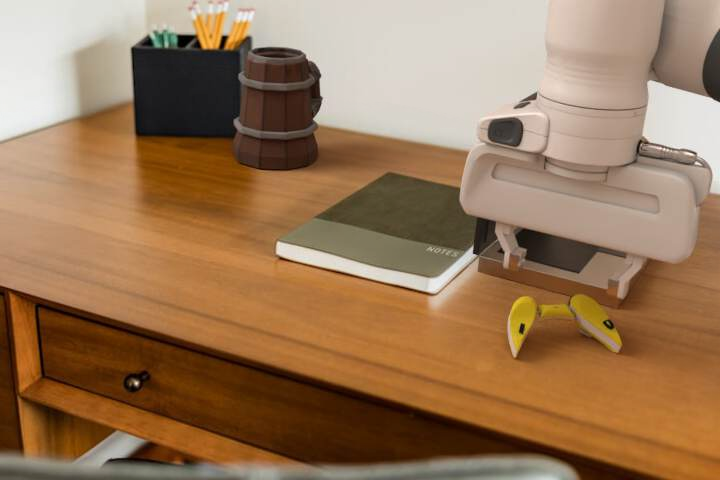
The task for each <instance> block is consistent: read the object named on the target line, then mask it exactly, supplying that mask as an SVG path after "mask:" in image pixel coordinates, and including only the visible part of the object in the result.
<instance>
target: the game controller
mask: <svg viewBox="0 0 720 480" xmlns="http://www.w3.org/2000/svg"><path fill="white" fill-rule="evenodd" d="M537 315H538V319H537V323H542V322H545V321H555V320H556V321H557V320H558V321H567V322H574V323H575V324H576V325H577V326H578V327H580V328H579V330H578V331H579V332H580V333H581V334H582V335H585V336H586V337H588V338H594V339H596V340H597V341H598V342H600V343H601V344H602V345H603V346H605V348H607V349H608V350H609V351H610V352H613V353H615V354H619V353H620V351H621V349H622V347H623V342H622V339H621V337H620V335H619V331H618V330H617V329H616V327H615V324H614V322H613V321H612V320H611V319H610V318H609V316H608V315H607V313H606V311H605V310H604V309H603V307H602V306H601V304H598V303H597V302H596V301H595V300H593V299H592V298H590V297H588V296H586V295H583V294H577V295H574V296H573V297H572V296H571V297H570V298H569V300H568V302H567V303H562V304H561V303H560V304H540V305H537V301H536V300H535V299H534V298H533V297H531V296H529V295H525V296H520V297H518V298H517V299H516V300H515V301H514V303H513V304H512V307H511V309H510V312H509V314H508V319H507V327H506V328H507V338H508V344H509V348H510V352H511V355H512V357H513V359H517V357H518V355H519V352H520V350H521V347H522V345H523V344H524V342H525V340H526V338H527V336H528V334H529V333H530V330H531V328H532V326H533V324H534V321H535V318H536V316H537Z"/></svg>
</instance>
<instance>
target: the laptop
mask: <svg viewBox="0 0 720 480" xmlns="http://www.w3.org/2000/svg"><path fill="white" fill-rule="evenodd" d="M513 233H514V235H515V238H516V241H517V244H518V246H519V247H521V248H524V249H527V251H526V256H525V257H524V259H525V265H524V267H523V269H520V272H518V271H514V270H509V269H505V268H504V267H503V263H504V255H505V251H503V249H502V246H501V244H500V242H499V240H498V239H497V240H496V241H494V242H493V243H492V244H491V245H490V246H489V247H487V248H486V249H485V250H484V251H483V252H482V253H481V254H479V255H478V265H477V272H478V273H483V274H486V275H491V276H494V277H498V278H502V279H505V280H509V281H513V282H517V283H520V284H523V285H528V286H531V287H535V288H540V289H542V290H547V291H550V292H554V293H558V294H561V295H565V296H568V297H571V298H572V297H573V296H574V295H577V294H583V295H586V296H588V297H590V298H592V299H593V300H595V301H596V302H597V303H598V304H599V305H602V306H607V307H610V308H612V309H613V308H614V309H619V307H620V306H621V304H622V303H623V301H624V300H625V298H626V297H627V295H628V294H629V293H630V291H631V290H632V288H633V287H634V286H635V284H636V283H637V281H638V280H639V278H640V277H641V276H642V274H643V272H644V271H645V269H646V268H647V267H648V265H649V264H650V262H651V260H652V259H650V258H648V259H647V261H646V262H645V264H644V265H643V266H642V268H641V269H640V270H639V271H638V272H637V273H636V274H635V275H634V276H633V277H632V278H631V279H630V282H629V287H628V291H627V294H626V296H625V297H624V299H619V298H615V297H611V296H608V295H606V290H607V289H608V285H607V284H608V279H609V277H610V276H611V275H612V273H613V272H614V271H615V272H620V273H624V272H625V271H626V270H627V269H628V267H629V266H630V265H628V264H626V263H625V261H626V255H627V253H625V252H621V251H617V250H613V249H609V248H605V247H600V246H596V245H592V244H588V243H584V242H580V241H576V240H571V239H567V238H563V237H559V236H555V235H551V234H546V233H542V232H538V231H534V230H530V229H526V228H522V227H517V228H516V229H515V230H514V231H513Z"/></svg>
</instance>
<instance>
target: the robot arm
mask: <svg viewBox="0 0 720 480" xmlns="http://www.w3.org/2000/svg"><path fill="white" fill-rule="evenodd" d="M544 44H545V51H546V62H545V68H544V71H543V74H542V76H541V78H540V80H539V83H538V87H537V91H538V92H537V91H536V92H537V100H532V101H525V102H519V101H518V102H511V103H508V104H504V105H501V106H500V107H497V108H495V109H493V110H491V111H489V112H487V113H486V114H484V115H483V116H481V118H480V119H478V121H477V125H476V137H477V139H478V140H479V141H478V142H477V143H476V144H474V145H473V146H472V148H471V149H470V150H469V152H468V154H467V156H466V160H465V164H464V168H463V172H462V177H461V183H460V188H459V189H460V190H459V203H460V206H461V208H462V210H463V211H464V213H465V214H466V215H469V216H471V217H476V218H477V217H480V218H484V219H488V220H493V221H496V228H495V233H496V235H497V237H498V239H497V240H499V242H500V244H501V246H502V249H503V251H505V255H504V263H503V267H504V268H505V269H509V270H514V271H518V272H520V269H523V267H524V265H525V259H524V257H525V256H526V251H527V249H524V248H521V247H519V246H518V244H517V241H516V238H515V235H514V233H513V231H514V230H515V229H516V228H517V227H522V228H526V229H530V230H534V231H538V232H542V233H546V234H551V235H555V236H559V237H563V238H567V239H571V240H576V241H580V242H584V243H588V244H592V245H596V246H600V247H605V248H609V249H613V250H617V251H621V252H625V253H627V255H626V261H625V263H626V264H628V265H630V266H629V267H628V269H627V270H626V271H625V272H624V273H620V272H615V271H614V272H613V273H612V275H611V276H610V277H609V279H608V284H607V285H608V289H607V290H606V295H608V296H611V297H615V298H619V299H624V300H625V298H626V297H627V295H628V294H627V291H628V287H629V282H630V279H631V278H632V277H633V276H634V275H635V274H636V273H637V272H638V271H639V270H640V269H641V268H642V266H643V265H644V264H645V262H646V261H647V259H648V258H650V259H651V260H655V261H659V262H662V263H667V264H670V265H679V264H681V263H682V262H683V261H685V260H687V259H688V258H689V257H690V256H691V255H692V253H693V251H694V249H695V247H696V244H697V239H698V232H699V228H700V227H699V226H700V215H701V206H702V205H703V204H704V203H705V202H706V201H707V200H708V198H709V196H710V192H711V188H712V183H713V178H714V177H713V169H712V168H711V166H710V164H709V162H707V161H706V160H705V159H704V158H702V157H701V156H698V152H696V151H695V150H692V149H688V148H674V147H671V146H667V145H664V144H660V143H656V142H650V141H649V142H646V141H642V140H641V138H642V136H643V133H644V127H645V121H646V115H647V110H648V105H649V97H650V96H649V95H650V94H649V86H648V82H650V81H652V82H655V83H658V84H662V85H664V86H666V87H669V88H673V89H676V90H680V91H682V92H683V91H684V92H687V93H691V94H694V95H698V96H702V97H705V98H708V99H712V100H713V101H715V102H718V103H720V0H549V4H548V9H547V16H546V23H545V32H544ZM696 163H698V164H696ZM626 294H627V295H626ZM625 296H626V297H625ZM624 297H625V298H624Z"/></svg>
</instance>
